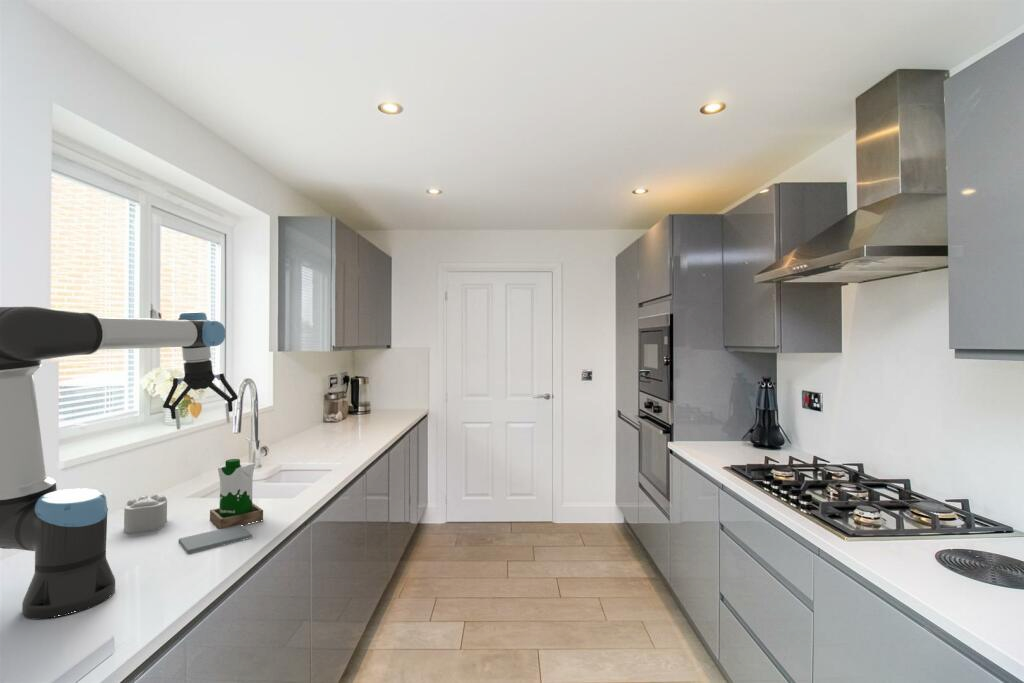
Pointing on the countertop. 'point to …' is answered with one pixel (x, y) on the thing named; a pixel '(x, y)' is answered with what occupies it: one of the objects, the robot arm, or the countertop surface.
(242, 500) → the soya milk
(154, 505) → the lumpy-topped squat cylinder
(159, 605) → the countertop surface
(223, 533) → the mat
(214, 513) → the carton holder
